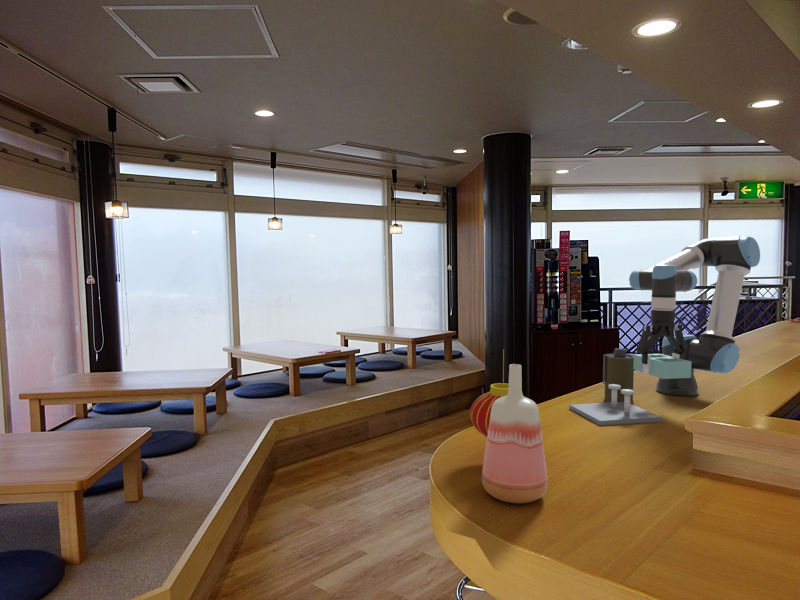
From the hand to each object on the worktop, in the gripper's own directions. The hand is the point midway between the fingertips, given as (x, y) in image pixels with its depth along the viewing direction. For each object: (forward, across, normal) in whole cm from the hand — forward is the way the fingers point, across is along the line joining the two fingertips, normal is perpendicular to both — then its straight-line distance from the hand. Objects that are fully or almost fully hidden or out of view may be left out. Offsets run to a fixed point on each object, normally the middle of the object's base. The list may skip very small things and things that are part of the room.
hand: (661, 372), depth 183 cm
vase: (+15, +76, +52) cm, 93 cm away
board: (+14, +18, 0) cm, 23 cm away
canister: (+14, +6, -16) cm, 22 cm away
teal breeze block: (0, 0, 0) cm, 0 cm away
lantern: (+15, +71, +32) cm, 79 cm away
